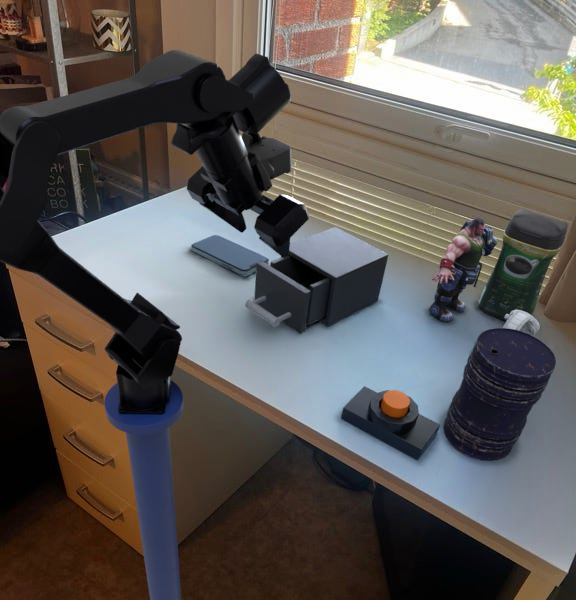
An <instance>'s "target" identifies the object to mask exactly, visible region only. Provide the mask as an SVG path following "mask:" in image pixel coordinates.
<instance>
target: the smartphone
mask: <svg viewBox="0 0 576 600" xmlns="http://www.w3.org/2000/svg"><path fill="white" fill-rule="evenodd" d="M190 247H191V248H190V249H191V251H192V252H193V253H195V254H198V255H200V256H202V257H204V258H206V259H208V260H210V261H211V262H214V263H216V264H218V265H220V266H222V267H224V268H226V269H227V270H230V271H233V272H234V273H236V274H239V275H240V276H248V275H251V274H253V273H256V265H257V263H258V262H261V261H263V262H264V263H266V264H268V265H270V264H269V262H270V259H269V258H268V257H267V256H265V255H262V254H261V253H258V252H256V251H254V250H252V249H249V248H247V247H245V246H242V245H241V244H238V243H236V242H234V241H232V240H229V239H227V238H225V237H223V236H221V235H219V234H214V235H210V236H208V237H206V238H204V239H201V240H199V241H196V242H194V243H192V244H191V246H190Z"/></svg>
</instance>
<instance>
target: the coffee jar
mask: <svg viewBox="0 0 576 600" xmlns="http://www.w3.org/2000/svg"><path fill="white" fill-rule="evenodd" d="M568 226H569V224H568V222H567V221H563V220H559V219H555V218H552V217H549V216H547V215H543V214H539V213H536V212H534V211H530V210H527V209H525V208H520V209H518V210H517V211H516V212H515V213H514V214H513V215H512V216H511V218H510V220H509V221H508V224H507V225H506V227H505V229H504V230H503V234H502V247H501V249H500V253H499V255H498V258H497V259H496V263H495V265H494V267H493V269H492V272H491V274H490V276H489V277H488V279H487V282H486V284H485V285H484V287H483V290H482V292H481V295H480V297H479V300H478V306H479V308H480V309H481V310H482V311H483V312H484V313H486V314H489V315H491V316H493V317H496V318H497V319H501V320H504V321H505V322H507V319H505V318H504V317H505V315H506V314H510V313H511V311H513V310H522V311H524V312H527V313H529V314H530V315H532V316H533V314H534V312H535V309H536V306H537V303H538V300H539V298H540V297H539V296H540V294H541V293H540V292H541V290H542V287H543V284H544V280H545V277H546V275H547V273H548V270H549V267H550V265H551V262H552V261H553V259H554V257H556V256H557V255H558V254H559V253H560V251H561V250H562V248H563V246H564V243H565V239H566V235H567V231H568Z"/></svg>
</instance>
